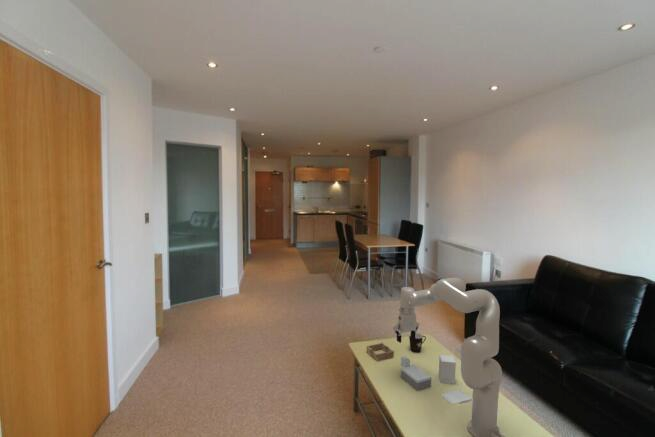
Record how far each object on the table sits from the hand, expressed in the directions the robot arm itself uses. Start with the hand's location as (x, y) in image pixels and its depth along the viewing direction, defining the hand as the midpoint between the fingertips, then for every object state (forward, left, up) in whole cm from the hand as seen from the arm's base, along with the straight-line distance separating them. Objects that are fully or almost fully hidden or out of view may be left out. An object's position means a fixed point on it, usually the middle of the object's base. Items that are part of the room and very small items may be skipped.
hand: (405, 340), depth 173 cm
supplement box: (-14, -17, -20) cm, 30 cm away
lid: (-7, 0, -15) cm, 16 cm away
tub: (-9, 0, -20) cm, 22 cm away
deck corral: (+24, 0, -20) cm, 31 cm away
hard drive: (-27, -10, -21) cm, 35 cm away
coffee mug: (+19, -26, -20) cm, 38 cm away
